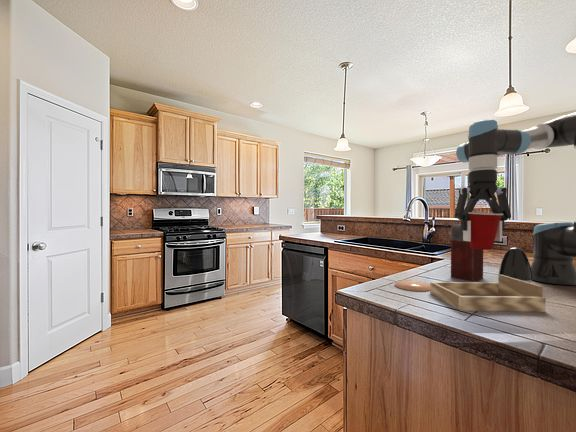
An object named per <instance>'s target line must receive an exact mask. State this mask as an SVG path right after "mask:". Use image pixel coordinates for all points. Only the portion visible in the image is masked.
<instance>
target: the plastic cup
mask: <svg viewBox="0 0 576 432" xmlns="http://www.w3.org/2000/svg"><path fill="white" fill-rule="evenodd" d="M468 214H469V216H470V217H469V219H468V220H467V221H471V241H469V242H470V246H471V248H472V249H481V250H483V251H485V250H487V251H491V250H493V248H494V245H495V241H494V240H495V237H496V233H497V228H498V224H499V221H500V219H501V216H502V215H503V214H501V213H500V214H493V212H486V211H472V212H468Z"/></svg>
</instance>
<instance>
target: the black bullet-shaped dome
mask: <svg viewBox="0 0 576 432" xmlns="http://www.w3.org/2000/svg"><path fill="white" fill-rule="evenodd" d="M499 275H505V276H508V277H512V278H515V279H519V280H522V281H526V282H529V283H532V281H533V280H532V271H531V264H530V261H529V258H528V256H527V255H526V253H525V251H524V250H523V249H521V248H519V247H516V246H515V247H513V246H512V247H510V248H508V249H507V250H506V251H505V252H504V254H503V256H502V259H501V262H500V265H499V269H498V276H499Z"/></svg>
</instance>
